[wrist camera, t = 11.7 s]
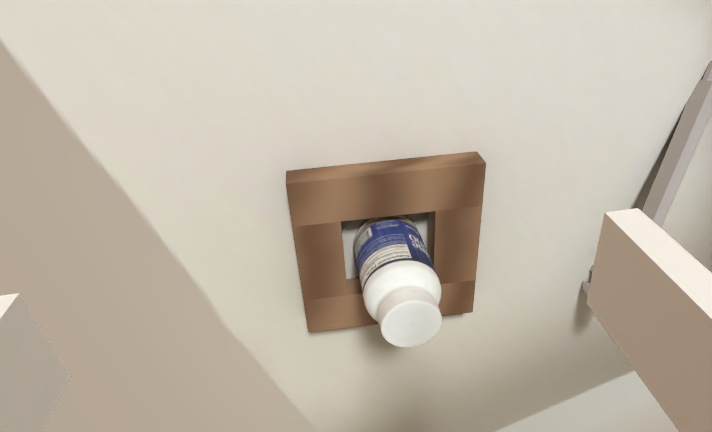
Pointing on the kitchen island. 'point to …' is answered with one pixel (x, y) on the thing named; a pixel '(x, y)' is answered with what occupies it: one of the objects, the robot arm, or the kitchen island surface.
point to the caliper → (678, 153)
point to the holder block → (381, 199)
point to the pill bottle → (398, 280)
